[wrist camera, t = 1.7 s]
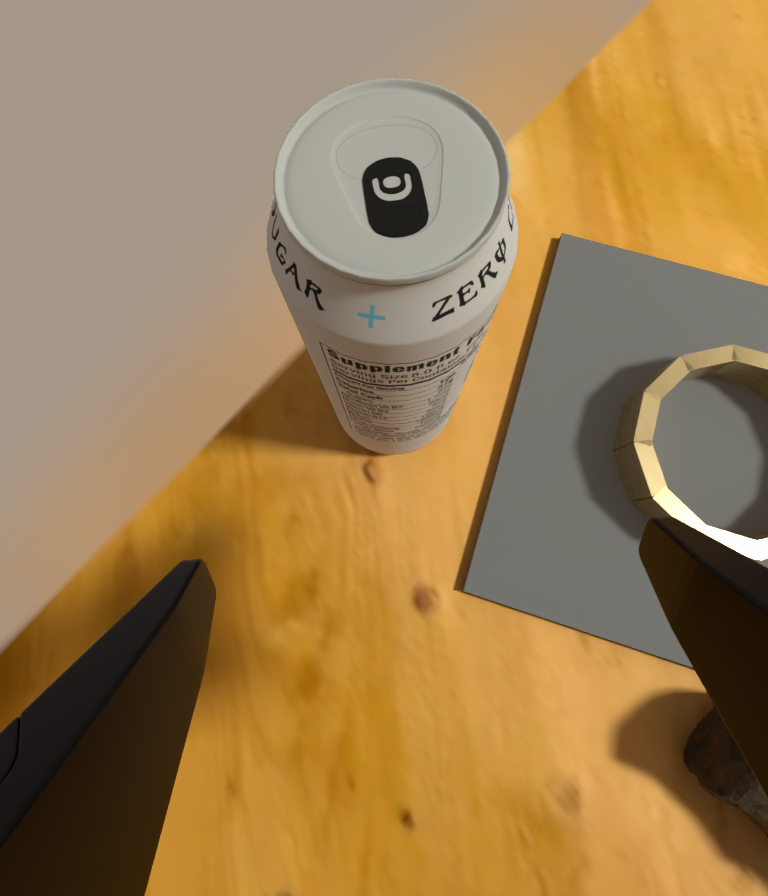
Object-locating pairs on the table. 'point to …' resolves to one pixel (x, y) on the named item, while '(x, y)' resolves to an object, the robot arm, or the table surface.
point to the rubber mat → (594, 432)
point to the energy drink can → (392, 250)
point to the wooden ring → (639, 424)
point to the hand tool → (725, 768)
